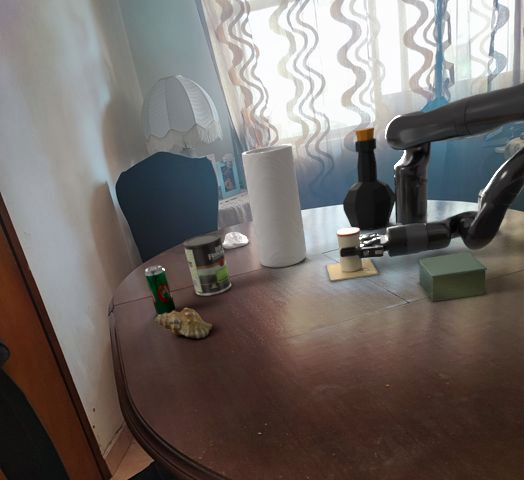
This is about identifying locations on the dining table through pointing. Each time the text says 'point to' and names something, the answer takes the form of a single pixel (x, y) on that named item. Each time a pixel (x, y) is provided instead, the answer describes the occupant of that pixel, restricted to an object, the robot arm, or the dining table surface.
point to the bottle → (368, 188)
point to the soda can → (159, 289)
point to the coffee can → (207, 264)
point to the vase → (275, 205)
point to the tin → (452, 276)
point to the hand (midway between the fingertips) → (340, 249)
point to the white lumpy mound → (234, 240)
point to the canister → (349, 239)
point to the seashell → (185, 323)
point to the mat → (366, 270)
